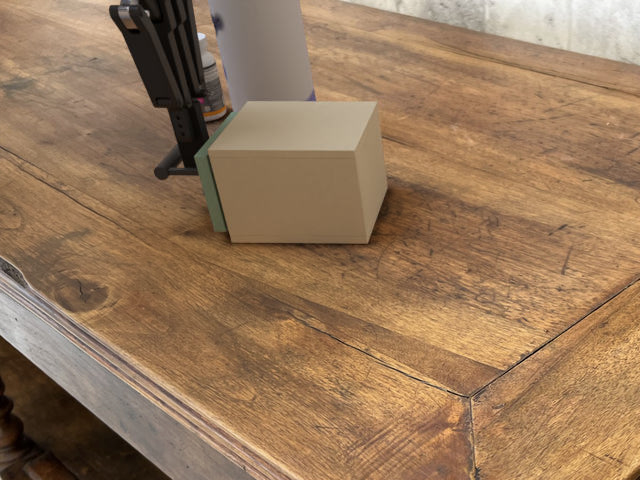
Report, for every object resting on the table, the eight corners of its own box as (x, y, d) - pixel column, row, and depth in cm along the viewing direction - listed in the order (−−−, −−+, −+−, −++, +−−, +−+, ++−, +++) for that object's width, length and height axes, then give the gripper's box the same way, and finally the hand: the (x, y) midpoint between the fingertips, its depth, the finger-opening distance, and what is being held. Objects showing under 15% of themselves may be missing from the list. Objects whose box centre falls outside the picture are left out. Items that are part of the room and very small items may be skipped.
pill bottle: (174, 121, 104) (152, 42, 98) (198, 106, 109) (178, 29, 102) (213, 125, 103) (193, 45, 97) (235, 109, 108) (218, 32, 101)
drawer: (157, 231, 79) (133, 156, 74) (197, 181, 88) (177, 111, 83) (339, 232, 78) (327, 156, 73) (360, 182, 87) (350, 112, 82)
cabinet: (231, 242, 79) (207, 149, 73) (266, 187, 89) (247, 101, 83) (367, 244, 78) (354, 150, 72) (387, 187, 88) (377, 101, 82)
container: (236, 127, 102) (195, -46, 90) (314, 116, 105) (285, -54, 92) (244, 157, 95) (201, -28, 83) (328, 144, 98) (298, -37, 85)
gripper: (138, -91, 61) (216, 196, 75) (197, -115, 71) (255, 142, 86) (42, -90, 61) (139, 196, 76) (114, -114, 71) (187, 142, 86)
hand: (200, 167), depth 81 cm, fingers closed
